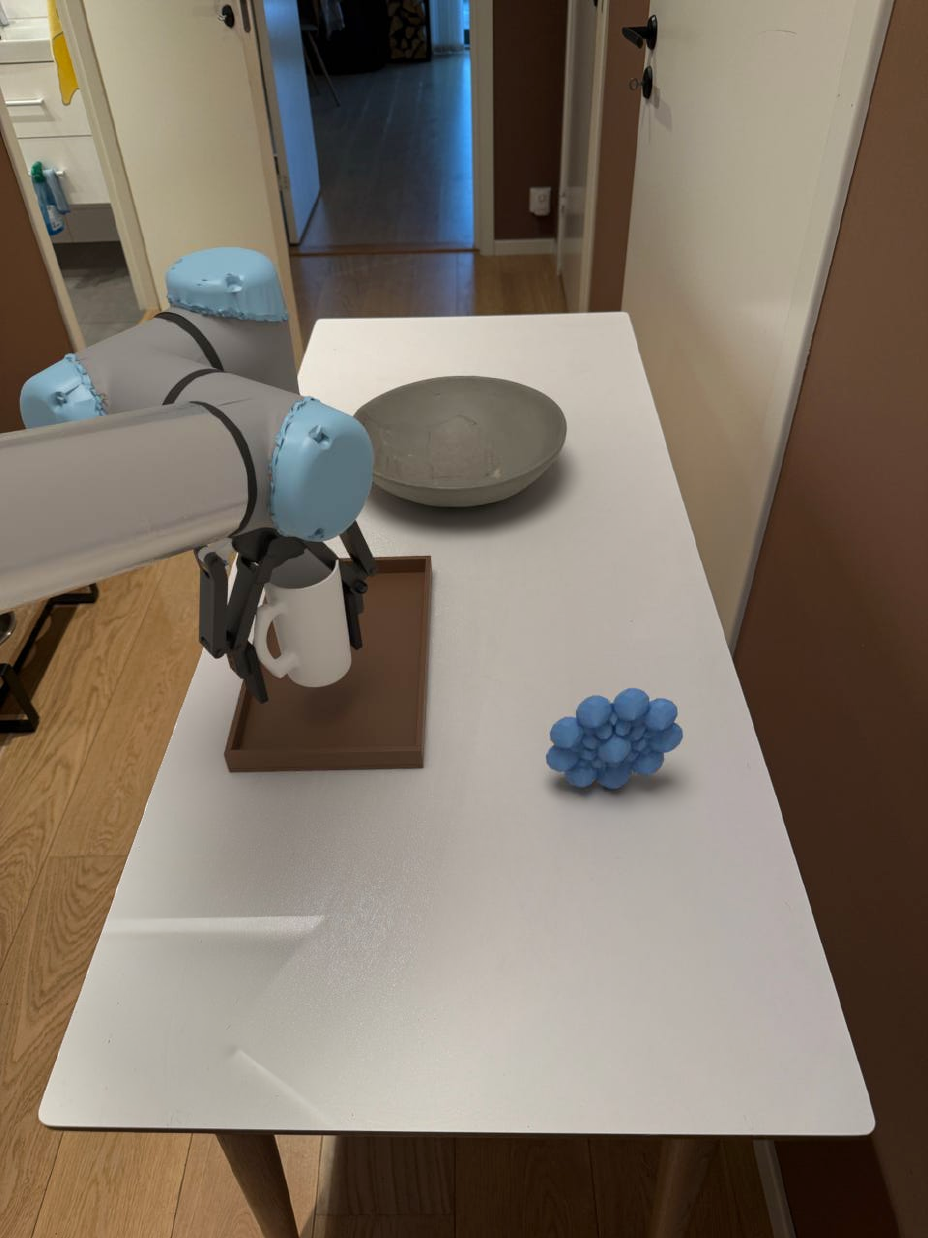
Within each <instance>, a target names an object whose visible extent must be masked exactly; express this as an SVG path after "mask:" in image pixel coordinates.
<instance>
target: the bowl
mask: <svg viewBox="0 0 928 1238" xmlns="http://www.w3.org/2000/svg"><path fill="white" fill-rule="evenodd" d="M352 417H354V418H355V419H357V420H358V421H359V422H360V423H361V424H362V425H363V427H364V428H365V429H366V431H367V433H368V435H369V437H370V440H371V443H372V446H373V451H374V465H373V470H372V478H373V482H372V483H374V484H375V485H377V486H378V487H380V488H381V489H383V490H384V491H386V492H388V493H390V494H392V495H394V496H396V497H398V498H400V499H404V500H407V501H411V502H414V503H418V504H422V505H426V506H432V507H449V508H450V507H453V508H466V507H468V508H469V507H474V506H482V505H488V504H492V503H496V502H500V501H504V500H506V499H509V498H510V497H512V496H515V495H516V494H518V493H520V492H522V491H524V489H526V488H527V487H528V486H530V485H531V484H532V483H534V481H536V480H537V479H539V477H541V476H542V475H543V474H544V473H545V472H546V471H547V470H548V469H549V468H550V467H551V466H552V465H553V463H554V462H555V461H556V460H557V458H558V456H559V455H560V453H561V452H562V449H563V447H564V445H565V442H566V438H567V433H568V423H567V418H566V416H565V413H564V411H563V410H562V408H561V407H560V406H559V405H558V404H557V402H556V401H555V400H553V399H552V398H551V397H550V396H548V395H547V394H545V393H544V392H542V391H540V390H539V389H535V388H533V387H532V386H529V385H525V384H522V383H519V382H517V381H512V380H508V379H503V378H497V377H490V376H482V375H481V376H480V375H447V376H439V377H431V378H427V379H426V378H425V379H421V380H417V381H413V382H410V383H406V384H403V385H400V386H397V387H395V388H392V389H390V390H388V391H385V392H383V393H381V394H379V395H377V396H375V397H374V398H372V399H370V400H368V402H366V403H364V404H363V405H361V406H360V407H359V408H358V409H356V411H355V412H354V414H353V415H352Z"/></svg>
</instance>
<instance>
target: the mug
mask: <svg viewBox="0 0 928 1238" xmlns="http://www.w3.org/2000/svg"><path fill="white" fill-rule="evenodd" d="M328 548H329V549H330V550H331V551H332V552H333V553H335V554H336V555H337V553H336V552H335V551H334V550H333V548H331V547H329V546H328ZM263 591H264V595H265V594H266V598H267V602H268V604H263V603H262V604H261V605H259V606H258V608H257V611H256V615H255V618H254V629H253V639H254V646H255V648H256V652H257V656H258V659H259V660H260V662H261V663H262V664H263V665H264V666H265V667H266V668H267V669H268V670H269V672H270V673H271V674H272V675H274V676H276V677H279V678H282V677H283V676H285V675H286V674H288V676H289V677H290V678H291V679H292V680H293V681H294V682H296V683H297V684H300V685H302V686H306V687H322V686H326V685H329V684H332V683H334V682H336V681H338V680H339V679H341V678H342V677H343V676H344V675H345V674H346V673H347V672H348V670H349V668H350V666H351V651H350V643H349V634H348V627H347V620H346V612H345V605H344V597H343V589H342V582H341V575H340V570H339V564H338V560H336V565H335V568H334V570H333V572H332V571H331V570H330V569H328V568H327V567H326V566H325V565H324V564H323V563H322V562H321V561H320V560H319V559H317V558H316V557H315V556H314V555H313V554H312V553H311V552H310V551H309V550H308V549H307V548H306V549H305V550H304V554H303V555H300V556H298V557H296V558H292V559H288V560H287V561H286V562H284V563H283V564H282V565H280V566H278V567H276V568H274V569H273V571H272V574H271V577H270V580H269V582H268V583H265V585H264V587H263ZM272 620H273V624H274V628H275V632H276V635H277V639H278V643H279V647H280V651H281V656H280V657H279V658H277V659H274V658H273V657H272V656H271V654H270V653H269V650H268V648H267V643H266V636H267V631H268V627H269V625H270V623H271V621H272Z"/></svg>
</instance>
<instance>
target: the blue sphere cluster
mask: <svg viewBox="0 0 928 1238" xmlns="http://www.w3.org/2000/svg"><path fill="white" fill-rule="evenodd" d="M678 715H679V713H678V706H677V705H676V704H675V703H674V702H673V701H672V700H671V699H667V698H665V697H662V698H661V697H660V698H654V699H652V700H651V701H650V696H649V694H648V693H646V691H645V690H642V689H640V688H637V687H628V688H626V689H624V690H621V691H620V692H619V693H618V694H617V695H615V697H614V700H613V702H611V701H610V699H608V698H607V697H605V696H602V695H599V694H598V695H597V694H596V695H595V694H594V695H593V694H592V695H590V696H587V697H586V698H584V700H581V702H580V703H579V704H578V706H577V708H576V710H575V716H564V717H561V718H559V719H558V720H557V721H556V722H555V723H554V724H553V725H552V726H551V727H550V730H549V740H550V741H551V743H552V744H553V745H552V746H551V747H549V748H548V750H547V753H546V755H545V759H546V760H545V763H546V765H547V766H548V767H549V768H550V770H553V771H555V772H557V773H558V772H559V773H564V779H565V780H566V781H567V783H568V784H569V785H571V786H572V787H575V788H586V787H588V786H590V785H591V784H592V783H593V782H595V780H596V779H597V782H599V784H600V785H601V786H602V787H605V788H606V789H612V790H615V789H620V788H621V787H623V786H625V784H626V783H628V781H629V780H630V779H631V776H632V774H633V773H635V774H637V775H640V776H651V775H653V774H655V773H656V772H658V770H660V769H661V768H662V766H663V764H664V762H665V754H666V753H667V754H668V753H670V752H672V751H674V750H675V749H676V748H677V747H679V746H680V744H681V742H682V741H683V738H684V732H683V728H682V726H680V725H679V724H678V722H677V723H676V722H675V721H676V719H677V718H678ZM632 772H633V773H632Z"/></svg>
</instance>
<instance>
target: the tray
mask: <svg viewBox="0 0 928 1238" xmlns="http://www.w3.org/2000/svg"><path fill="white" fill-rule="evenodd" d="M373 557H374V559H375V561H376V563H377V566H378V568H379V570H378V573H377V574H376V575H375V576H373V577H369V576H368V577H367V578H366V579H365V580H364V582H365V583H367V584H368V590H367V592H366V593H365V594H363V595H362V596H363V603H364V610H363V613H361V614H359V615H358V618H359V625H360V631H361V638H362V644H363V647H362V648H360V649H358V650H357V651H356V650H355V649H354V648H353V647H352V646H351V645H350V651H351V666H350V668H349V670H348V672H347V673H346V674H345V675H344V676H343V677H342V678H341V679H339V680H338V681H336V682H334V683H332V684H329V685H326V686H322V687H306V686H302V685H300V684H297V683H296V682H294V681H293V680H292V679H291V678H290V677H289V676H288V674H286V675H285V676H283V677H282V678H279V677H276V676H274V675H272V674H271V673H270V672H269V670H268V669H267V668H266V667H265V666H264V665H263V664H262V663H261V662H260V660H259V659H258V660H259V664H260V667H261V671H262V675H263V679H264V683H265V687H266V691H267V695H268V699H269V701H267V702H265V703H264V704H261V703H260V702H259V701H258V700H257V699H256V698H255V697H254V696H253V695H252V694H251V693H250V692H249V691H248V690H247V689H246V685H245V682H244V678H243V679H242V681H241V685H240V689H239V694H238V698H237V702H236V706H235V709H234V712H233V717H232V721H231V724H230V729H229V733H228V736H227V740H226V745H225V748H224V752H223V758H224V760H225V763H226V766H227V769H228V772H229V773H243V772H244V773H246V772H249V773H250V772H285V771H286V772H288V771H289V772H290V771H291V772H293V771H335V770H378V769H380V770H381V769H382V770H384V769H386V770H387V769H418V768H419V769H423V768H424V761H425V743H426V741H425V740H426V723H427V722H426V719H427V718H426V717H427V701H428V700H427V699H428V698H427V697H428V679H429V678H428V675H429V655H430V654H429V652H430V632H431V630H430V629H431V612H432V589H433V586H432V585H433V561H432V555H429V554H428V555H403V556H402V555H401V556H400V555H399V556H373ZM339 558H340V559H341V560H342V561H343V562H344V563H345V564H346V565H347V566H348V567H349V566H350V565H351V564H352V563H353V562H352V560H351V558H350V557H339ZM262 604H268V602H267V598H266V594H265V593H264V596H263V600H262ZM266 643H267V648H268V650H269V653H270V654H271V656H272V657H273V658H274V659H277V658H279V657H280V656H281V651H280V647H279V643H278V639H277V635H276V632H275V628H274V624H273V620H272V621H271V623H270V625H269V627H268V631H267V636H266ZM251 644H252V645H253V646H254V638H253V639H252V642H251ZM254 647H255V646H254Z"/></svg>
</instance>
